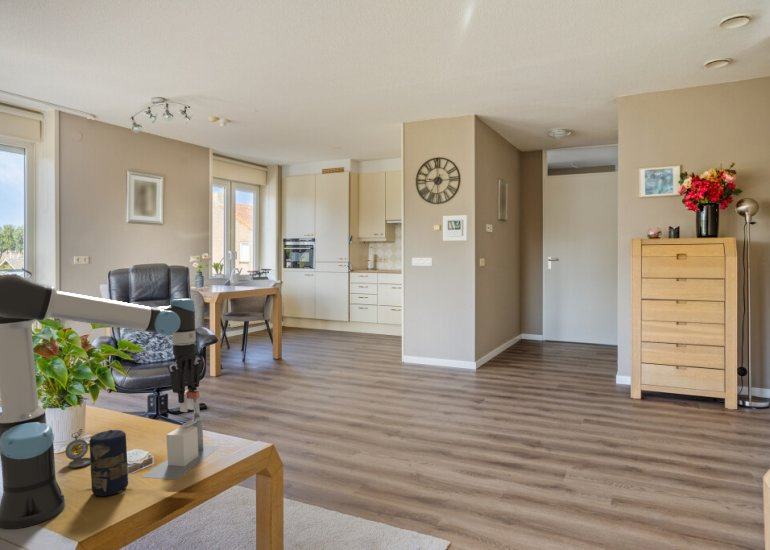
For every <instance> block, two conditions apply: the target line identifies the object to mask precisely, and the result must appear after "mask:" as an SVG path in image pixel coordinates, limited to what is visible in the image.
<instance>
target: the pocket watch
mask: <svg viewBox="0 0 770 550" xmlns="http://www.w3.org/2000/svg"><path fill="white" fill-rule="evenodd" d="M77 434H78V435H77ZM73 435H74V436H73ZM80 436H81V433H80V432H77V431H76V432H74V433H72V434H71V438H73V439H74V440H72V441H70V442H69V443H68V444H67V446H66V447H65V456H66V457H67V458H68V459H69V460H72V461H70V462H68V468H76V469H77V468H82V467H86V466H88V465H90V457H84V456H86V454H87V453H88V450H89V445H88V443H87V442H86V441H85V440H84V439H79V438H80Z"/></svg>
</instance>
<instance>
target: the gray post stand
mask: <svg viewBox="0 0 770 550" xmlns="http://www.w3.org/2000/svg"><path fill="white" fill-rule="evenodd" d="M191 427H197V435H198V457H197V458H195V459H194V460H192V461H191V462H190V463H188V464H187V465H186V466H173V465H168V458H167V459H166V460H164V461H163V462H161V463H159V465H157V466H155V467H154V468H152V469H151V470H149V471H148V472H146V473H145V474H144V475H141V478H147V479H160V480H161V479H162V480H178V479H180V477H182V476H184V474H186V473H188V471H190V470H191V469H192V468H194V467H196V465H198V464H199V463H201V462H202V461H203V460H204V459H205V458H207V457H209V456H210V455H211V454H212V453H214V452H215V451H217V450H218V449H219V448H221V446H220V445H206V444H205V445H204V434H203V433H204V432H203V429H204V428H203V419H202V420H201V421H199V422H196V423H194V424H193V425H191Z"/></svg>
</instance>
